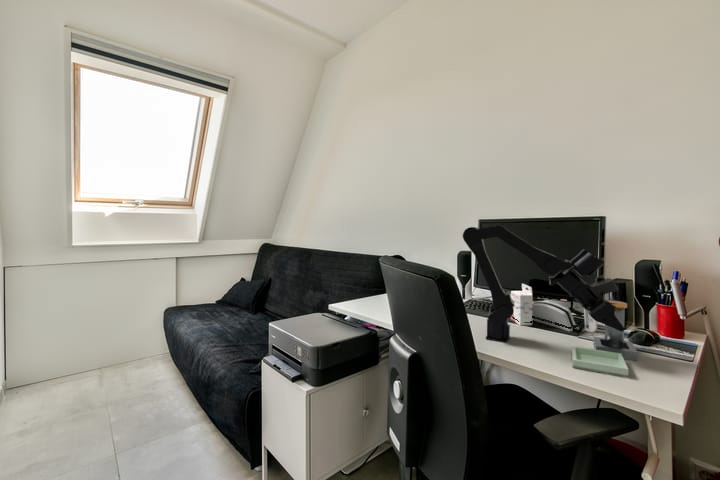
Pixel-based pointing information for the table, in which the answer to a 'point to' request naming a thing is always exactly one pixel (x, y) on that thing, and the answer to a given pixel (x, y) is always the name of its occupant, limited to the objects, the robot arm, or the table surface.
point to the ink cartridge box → (522, 305)
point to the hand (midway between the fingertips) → (618, 326)
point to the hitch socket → (627, 352)
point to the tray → (599, 361)
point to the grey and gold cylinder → (613, 335)
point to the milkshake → (589, 322)
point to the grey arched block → (553, 314)
